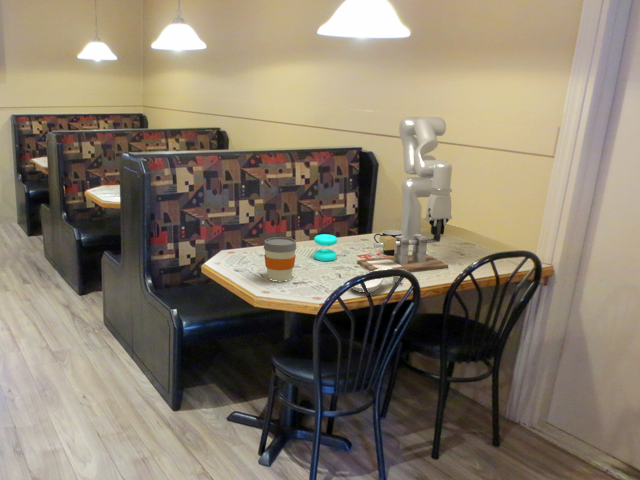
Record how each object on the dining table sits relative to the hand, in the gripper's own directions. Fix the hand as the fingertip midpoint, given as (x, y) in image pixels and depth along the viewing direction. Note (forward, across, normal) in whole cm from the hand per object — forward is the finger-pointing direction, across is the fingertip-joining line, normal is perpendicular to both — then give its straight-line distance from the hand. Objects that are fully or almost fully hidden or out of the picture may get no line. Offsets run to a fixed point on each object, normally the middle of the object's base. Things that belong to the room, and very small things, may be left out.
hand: (437, 233), depth 253 cm
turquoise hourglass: (+13, +44, -20) cm, 50 cm away
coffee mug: (+13, +12, -19) cm, 26 cm away
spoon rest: (+13, +41, +21) cm, 48 cm away
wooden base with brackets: (+13, +17, 0) cm, 21 cm away
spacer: (+4, +24, 0) cm, 25 cm away
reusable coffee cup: (+13, +72, -1) cm, 73 cm away
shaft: (+4, +14, 0) cm, 15 cm away
